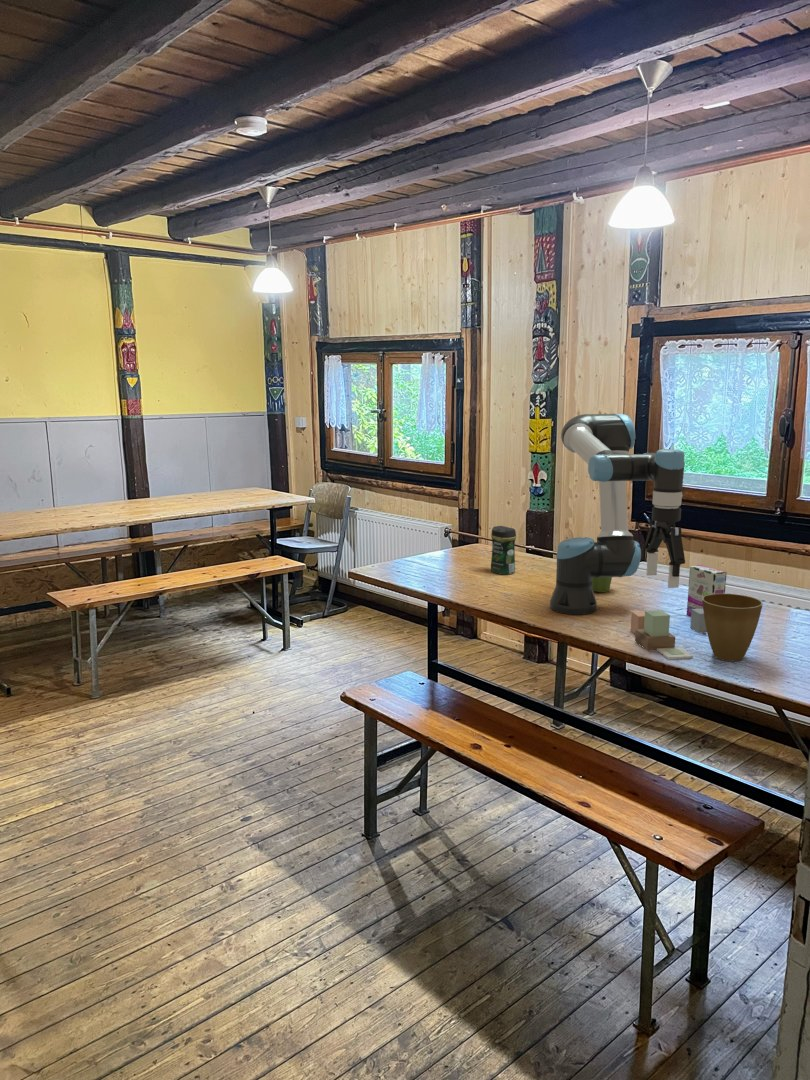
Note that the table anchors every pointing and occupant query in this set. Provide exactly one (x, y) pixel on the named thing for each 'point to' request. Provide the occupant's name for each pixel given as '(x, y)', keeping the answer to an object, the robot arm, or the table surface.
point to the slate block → (698, 620)
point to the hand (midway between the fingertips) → (661, 581)
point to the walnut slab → (654, 640)
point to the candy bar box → (704, 585)
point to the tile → (674, 653)
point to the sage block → (656, 623)
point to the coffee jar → (503, 550)
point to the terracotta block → (637, 620)
